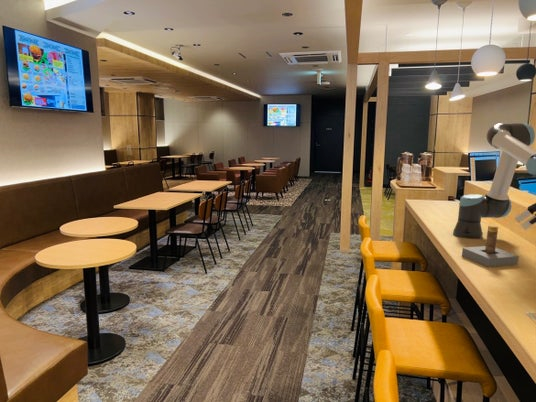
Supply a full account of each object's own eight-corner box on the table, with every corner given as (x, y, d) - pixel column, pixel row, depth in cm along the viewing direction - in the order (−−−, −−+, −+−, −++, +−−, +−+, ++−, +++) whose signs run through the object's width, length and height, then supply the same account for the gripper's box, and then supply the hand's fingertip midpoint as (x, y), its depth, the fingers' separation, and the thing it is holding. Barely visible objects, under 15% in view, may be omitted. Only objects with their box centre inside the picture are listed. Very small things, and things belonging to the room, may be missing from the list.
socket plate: (489, 253, 190) (490, 245, 190) (517, 264, 175) (518, 256, 174) (461, 255, 186) (462, 247, 185) (488, 267, 171) (489, 258, 170)
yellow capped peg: (488, 258, 183) (493, 225, 180) (495, 261, 179) (500, 227, 176) (482, 258, 182) (486, 225, 179) (488, 261, 178) (493, 228, 175)
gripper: (582, 205, 153) (532, 237, 162) (562, 195, 176) (519, 224, 184) (568, 190, 154) (519, 223, 163) (550, 183, 177) (508, 212, 185)
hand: (519, 223), depth 174 cm, fingers open, 13 cm apart
